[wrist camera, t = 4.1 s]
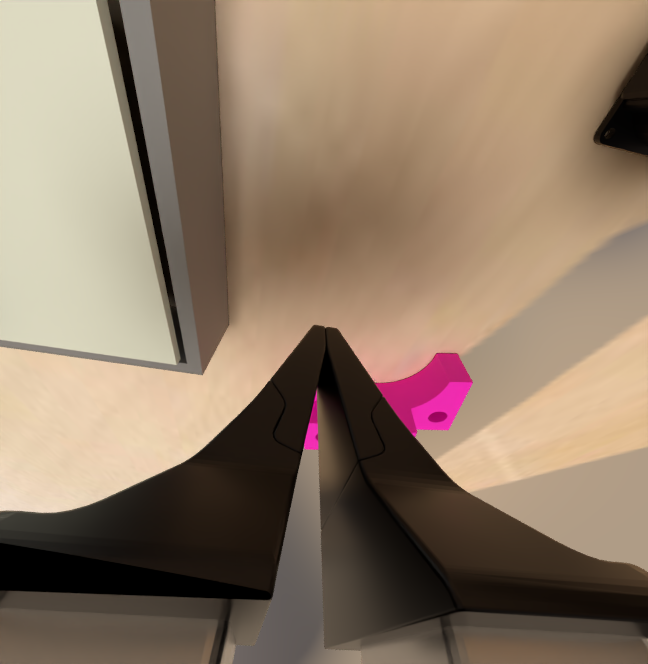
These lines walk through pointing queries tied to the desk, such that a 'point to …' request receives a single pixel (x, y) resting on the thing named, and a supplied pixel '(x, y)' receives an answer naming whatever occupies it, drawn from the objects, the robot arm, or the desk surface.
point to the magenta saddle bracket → (419, 397)
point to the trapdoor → (74, 191)
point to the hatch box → (180, 169)
